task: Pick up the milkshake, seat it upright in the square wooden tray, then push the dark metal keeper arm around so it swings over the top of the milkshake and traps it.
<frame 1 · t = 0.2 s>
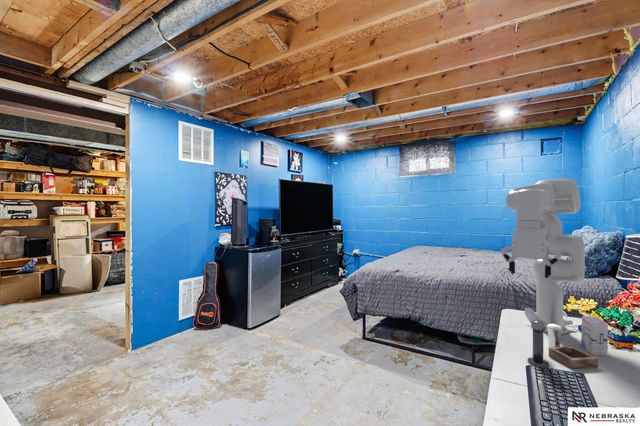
hand: (529, 275, 104), 31 cm above the table, tool pointing down, fingers open, 9 cm apart
ink box: (594, 350, 115), on the table
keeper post: (538, 363, 105), on the table
square wooden tray: (572, 361, 106), on the table
keeper arm: (533, 318, 111), point 13 cm above the table, hinge at 60.0°
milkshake: (555, 348, 117), on the table
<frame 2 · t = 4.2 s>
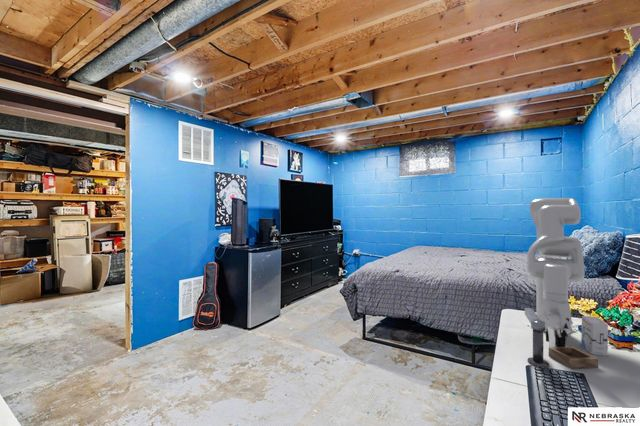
hand: (555, 343, 117), 2 cm above the table, tool pointing down, fingers closed on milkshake, 4 cm apart
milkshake: (555, 348, 117), on the table, touching gripper
everything else where it was.
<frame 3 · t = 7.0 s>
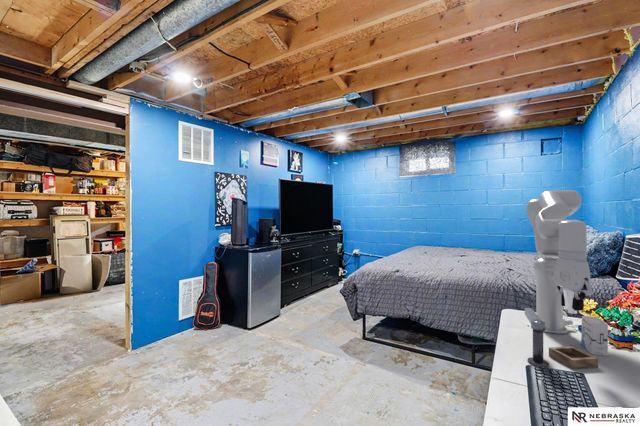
hand: (572, 307, 106), 19 cm above the table, tool pointing down, fingers closed on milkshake, 4 cm apart
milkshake: (572, 313, 106), point 17 cm above the table, touching gripper
everything else where it was.
when the fingers open (4 cm above the table, at t = 10.1 s): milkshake drops 1 cm, resting on square wooden tray.
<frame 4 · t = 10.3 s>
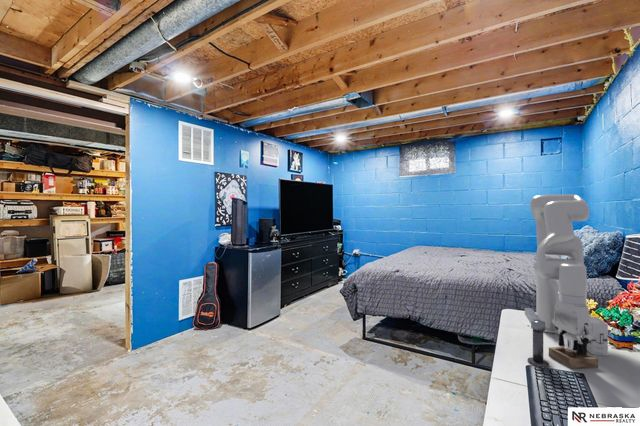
hand: (572, 349, 106), 4 cm above the table, tool pointing down, fingers open, 6 cm apart
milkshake: (572, 360, 106), resting on square wooden tray
everything else where it was.
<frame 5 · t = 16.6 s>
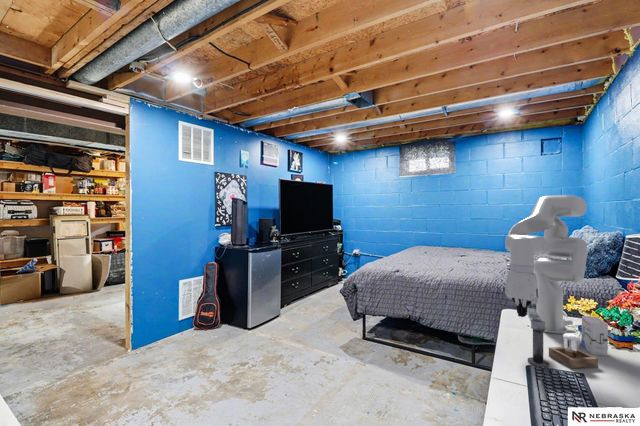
hand: (522, 315, 118), 12 cm above the table, tool pointing down, fingers closed
keeper arm: (534, 318, 111), point 13 cm above the table, hinge at 56.8°, touching gripper
everything else where it was.
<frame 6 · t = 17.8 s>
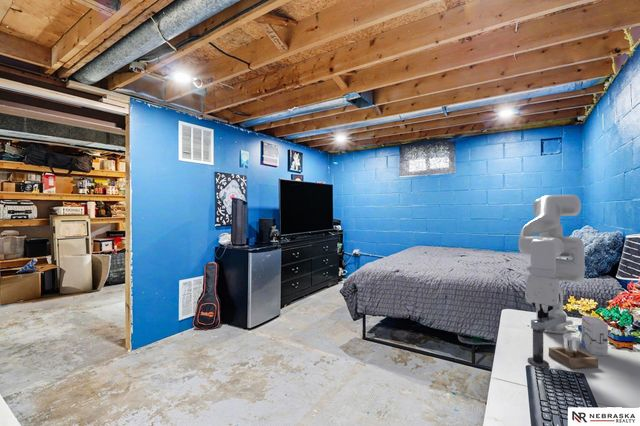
hand: (543, 321, 113), 12 cm above the table, tool pointing down, fingers closed
keeper arm: (549, 321, 108), point 13 cm above the table, hinge at 21.5°, touching gripper
everything else where it was.
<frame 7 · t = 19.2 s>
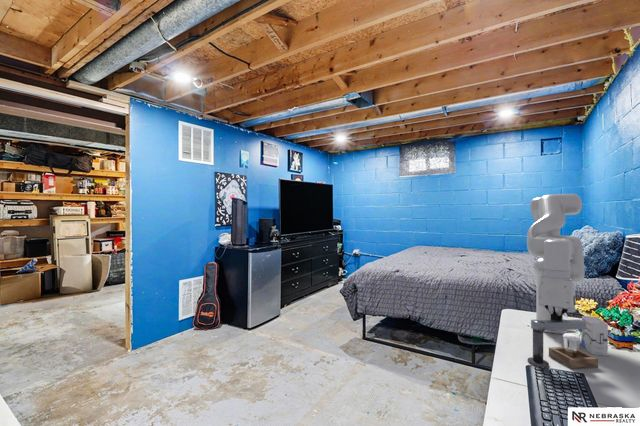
hand: (556, 325, 109), 12 cm above the table, tool pointing down, fingers closed
keeper arm: (557, 324, 105), point 13 cm above the table, hinge at -3.6°, touching gripper
everything else where it was.
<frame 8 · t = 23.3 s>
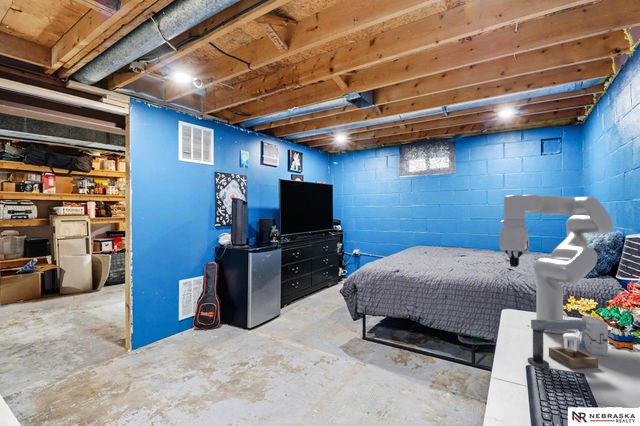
hand: (514, 266, 130), 29 cm above the table, tool pointing down, fingers closed
keeper arm: (557, 324, 105), point 13 cm above the table, hinge at -3.9°
everything else where it was.
at the end: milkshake 0.2 cm off-centre on the square wooden tray, point 0.3 cm above the square wooden tray's base; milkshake tilted 0°; keeper arm at -4° (first picture: +60°) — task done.
